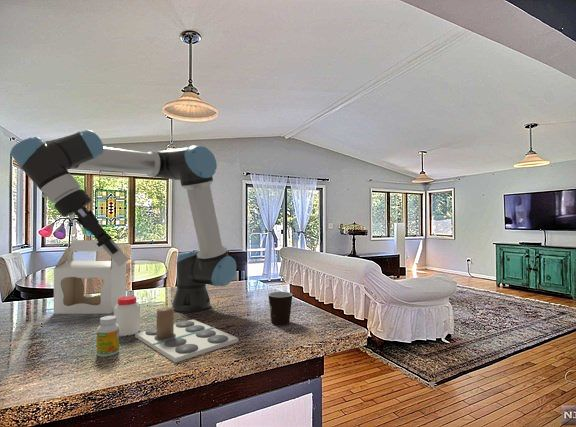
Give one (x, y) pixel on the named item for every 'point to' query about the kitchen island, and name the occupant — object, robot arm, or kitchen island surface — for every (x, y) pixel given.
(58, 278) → the gable box
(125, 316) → the pill bottle
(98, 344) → the supplement bottle
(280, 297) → the coffee mug
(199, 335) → the board
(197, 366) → the kitchen island surface
